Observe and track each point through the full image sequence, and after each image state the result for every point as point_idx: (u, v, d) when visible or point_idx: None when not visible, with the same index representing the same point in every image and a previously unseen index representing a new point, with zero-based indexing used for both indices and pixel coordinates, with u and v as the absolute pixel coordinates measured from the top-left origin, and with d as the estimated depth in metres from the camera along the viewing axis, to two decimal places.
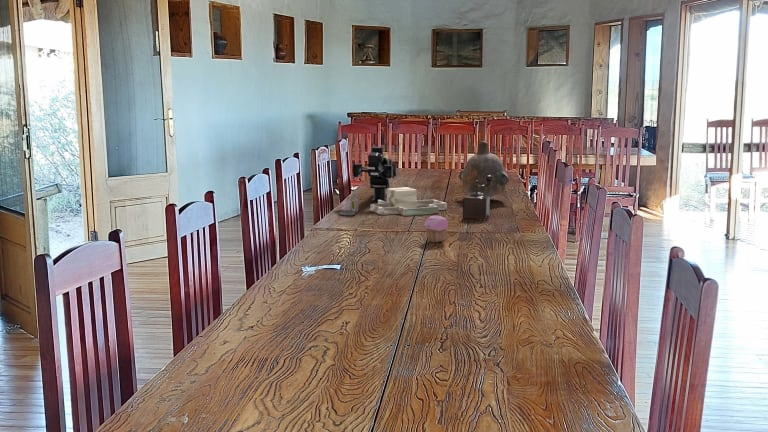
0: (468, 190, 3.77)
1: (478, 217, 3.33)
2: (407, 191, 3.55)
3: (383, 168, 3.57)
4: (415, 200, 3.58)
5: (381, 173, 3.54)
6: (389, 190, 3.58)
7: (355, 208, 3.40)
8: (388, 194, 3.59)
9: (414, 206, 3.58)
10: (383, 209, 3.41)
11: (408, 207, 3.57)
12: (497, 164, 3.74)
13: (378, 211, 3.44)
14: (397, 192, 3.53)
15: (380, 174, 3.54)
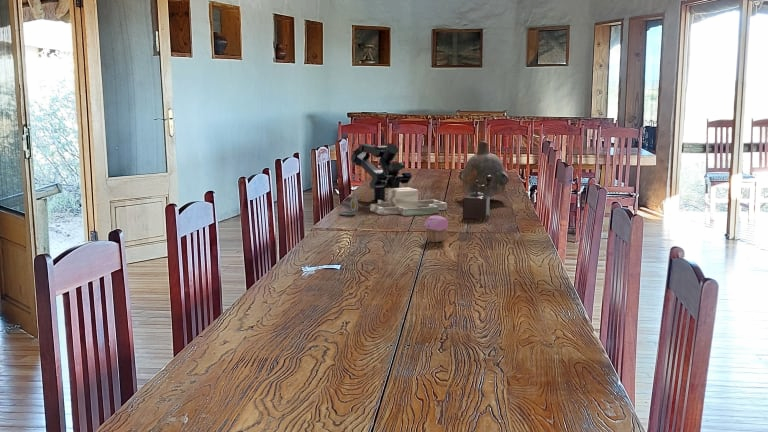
0: (468, 190, 3.77)
1: (478, 217, 3.33)
2: (408, 191, 3.54)
3: (398, 180, 3.64)
4: (416, 200, 3.57)
5: None
6: (390, 190, 3.57)
7: (355, 208, 3.40)
8: (389, 194, 3.58)
9: (415, 206, 3.57)
10: (383, 209, 3.41)
11: (409, 207, 3.56)
12: (497, 164, 3.74)
13: (378, 211, 3.44)
14: (398, 192, 3.52)
15: None
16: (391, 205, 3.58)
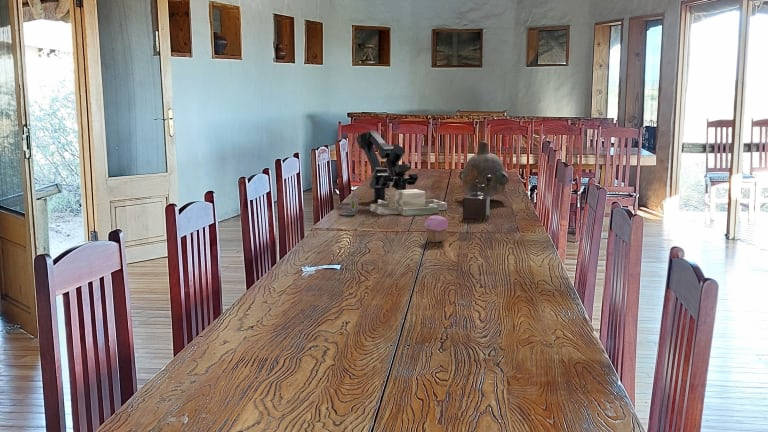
0: (468, 190, 3.77)
1: (478, 217, 3.33)
2: (415, 193, 3.49)
3: (404, 182, 3.59)
4: (424, 202, 3.51)
5: None
6: (397, 192, 3.52)
7: (355, 208, 3.40)
8: (396, 196, 3.53)
9: None
10: (383, 209, 3.41)
11: None
12: (497, 164, 3.74)
13: (378, 211, 3.44)
14: (405, 194, 3.46)
15: None
16: None
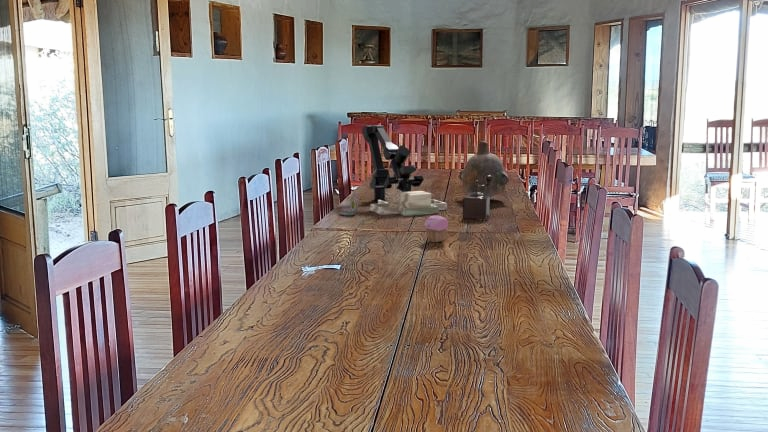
0: (468, 190, 3.77)
1: (478, 217, 3.33)
2: (421, 195, 3.44)
3: (409, 183, 3.54)
4: (429, 204, 3.47)
5: None
6: (403, 194, 3.47)
7: (355, 208, 3.40)
8: (401, 198, 3.48)
9: None
10: (383, 209, 3.41)
11: None
12: (497, 164, 3.74)
13: (378, 211, 3.44)
14: (411, 196, 3.42)
15: None
16: None
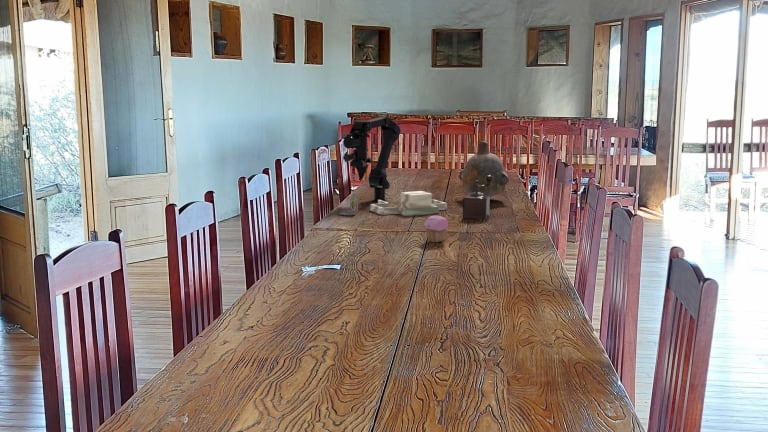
0: (468, 190, 3.77)
1: (478, 217, 3.33)
2: (422, 195, 3.44)
3: None
4: (430, 204, 3.47)
5: (360, 175, 3.65)
6: (403, 194, 3.47)
7: (355, 208, 3.40)
8: (402, 198, 3.48)
9: None
10: (383, 209, 3.41)
11: None
12: (497, 164, 3.74)
13: (378, 211, 3.44)
14: (412, 196, 3.41)
15: (361, 177, 3.65)
16: None
